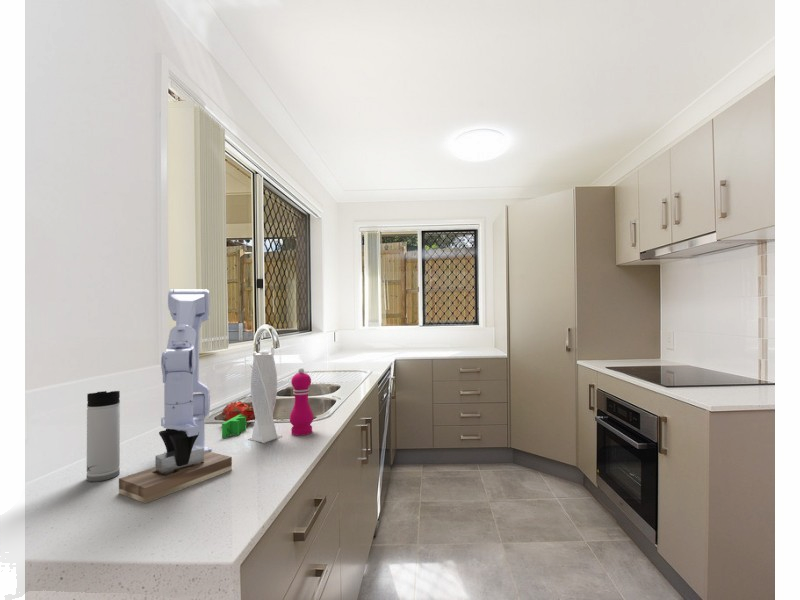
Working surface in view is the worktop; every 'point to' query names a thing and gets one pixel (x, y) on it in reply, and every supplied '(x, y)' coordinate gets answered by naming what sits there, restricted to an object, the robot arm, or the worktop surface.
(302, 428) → the pepper mill
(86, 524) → the worktop surface
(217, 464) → the wooden slotted board
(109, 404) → the travel mug
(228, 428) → the green bumpy bar
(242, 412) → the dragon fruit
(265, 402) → the skyscraper
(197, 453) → the grey block
